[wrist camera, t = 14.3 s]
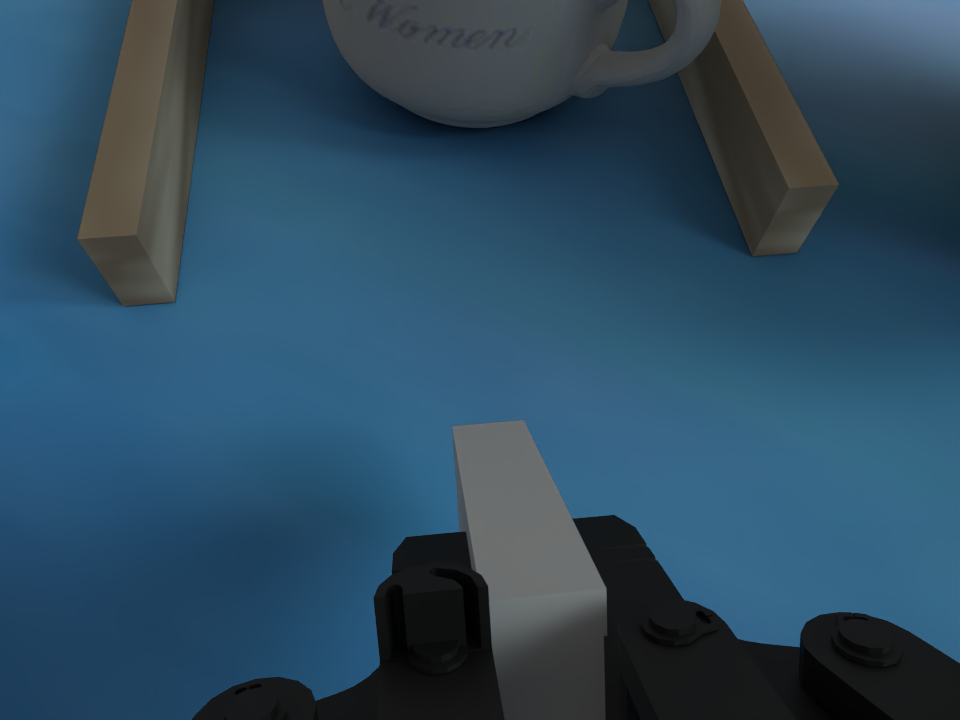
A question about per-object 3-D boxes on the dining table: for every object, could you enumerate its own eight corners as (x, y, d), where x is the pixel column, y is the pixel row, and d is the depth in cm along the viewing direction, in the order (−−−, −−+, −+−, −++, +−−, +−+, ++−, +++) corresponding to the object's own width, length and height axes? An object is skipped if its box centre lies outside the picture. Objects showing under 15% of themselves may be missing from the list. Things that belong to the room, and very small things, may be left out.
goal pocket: (661, -48, 32) (679, -121, 29) (797, 252, 23) (839, 184, 20) (181, -27, 30) (155, -103, 28) (123, 306, 21) (77, 239, 19)
